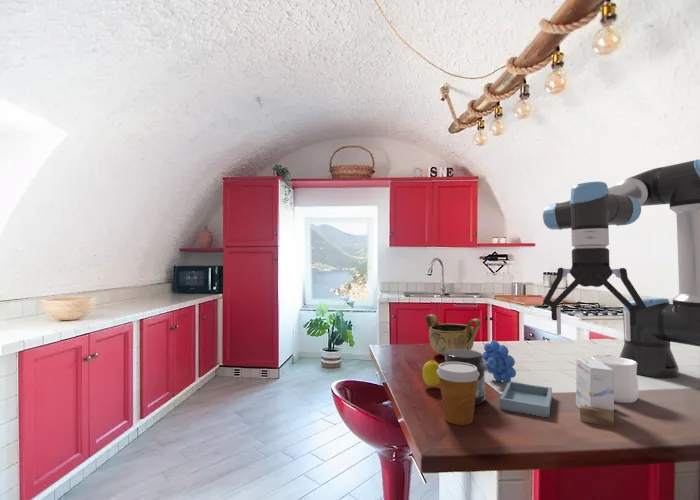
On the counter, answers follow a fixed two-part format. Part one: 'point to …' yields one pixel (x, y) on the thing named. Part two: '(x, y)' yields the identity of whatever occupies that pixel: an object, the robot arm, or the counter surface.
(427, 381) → the lemon
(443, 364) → the disposable coffee cup
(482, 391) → the supplement container
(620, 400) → the cup
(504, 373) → the grapes
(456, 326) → the ceramic bowl
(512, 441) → the counter surface
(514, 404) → the tray
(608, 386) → the ink box
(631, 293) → the robot arm
